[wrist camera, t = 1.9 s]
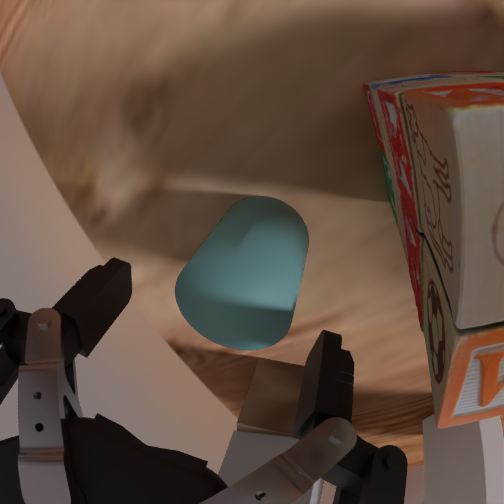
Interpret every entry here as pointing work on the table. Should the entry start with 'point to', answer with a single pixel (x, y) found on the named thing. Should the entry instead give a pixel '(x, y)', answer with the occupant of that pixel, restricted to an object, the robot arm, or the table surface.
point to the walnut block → (272, 398)
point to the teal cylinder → (246, 275)
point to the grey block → (260, 459)
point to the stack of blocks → (450, 226)
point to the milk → (463, 462)
